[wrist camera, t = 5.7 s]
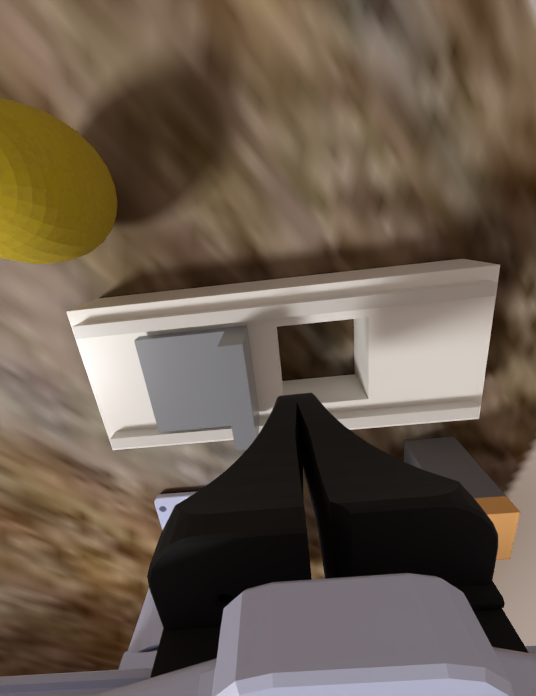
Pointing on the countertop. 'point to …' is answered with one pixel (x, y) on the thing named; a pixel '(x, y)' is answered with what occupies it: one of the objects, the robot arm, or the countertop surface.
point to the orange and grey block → (467, 483)
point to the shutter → (202, 381)
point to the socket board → (302, 308)
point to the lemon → (50, 189)
